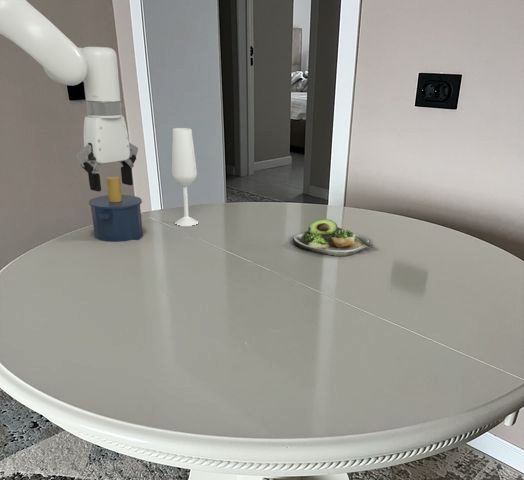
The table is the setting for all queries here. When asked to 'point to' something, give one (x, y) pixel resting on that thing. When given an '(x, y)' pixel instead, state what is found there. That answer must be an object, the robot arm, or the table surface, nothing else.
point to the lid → (114, 197)
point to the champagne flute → (184, 167)
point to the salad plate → (331, 239)
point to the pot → (117, 224)
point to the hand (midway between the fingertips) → (112, 187)
